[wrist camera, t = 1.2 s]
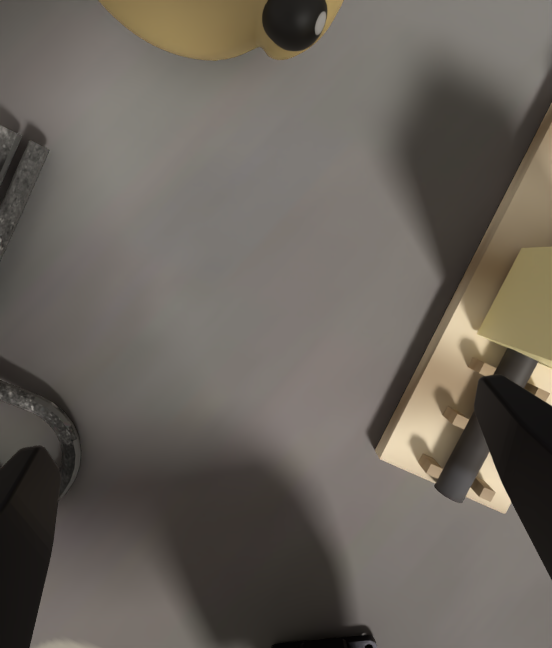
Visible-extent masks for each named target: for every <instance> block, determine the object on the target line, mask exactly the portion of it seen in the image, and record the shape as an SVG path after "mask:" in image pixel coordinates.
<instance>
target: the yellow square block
mask: <svg viewBox="0 0 552 648" xmlns="http://www.w3.org/2000/svg"><path fill="white" fill-rule="evenodd" d="M477 334H478V335H480V336H482V337H484V338H486V339H488V340H490V341H492V342H495V343H497V344H499V345H502V346H505V347H507V348H510V349H513V350H515V351H517V352H520V353H522V354H524V355H526V356H528V357H530V358H532V359H534V360H537V361H539V362H538V363H540V364H542V365H544V366H546V367H548V368H550V369H552V246H551V247H531V248H521V250H520V252H519V254H518V256H517V258H516V259H515V261H514V263H513V265H512V267H511V269H510V271H509V273H508V275H507V277H506V279H505V281H504V283H503V284H502V286H501V288H500V290H499V292H498V294H497V296H496V298H495V300H494V302H493V304H492V306H491V308H490V309H489V311H488V313H487V315H486V317H485V319H484V321H483V323H482V325H481V327H480V329H479V331H478V333H477Z"/></svg>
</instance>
